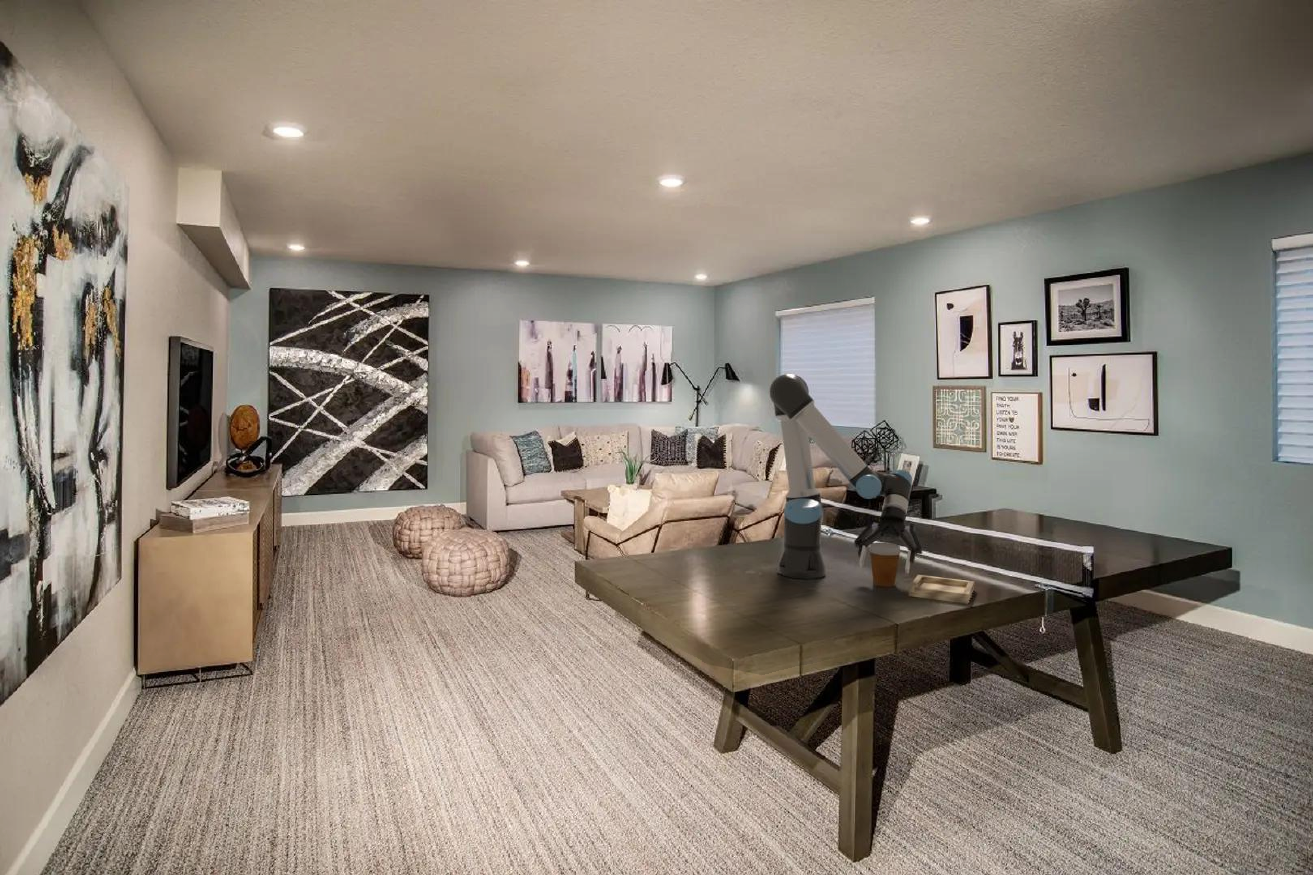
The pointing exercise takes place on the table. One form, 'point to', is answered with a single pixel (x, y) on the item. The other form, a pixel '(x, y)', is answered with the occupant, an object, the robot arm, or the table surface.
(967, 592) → the tray
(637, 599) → the table surface
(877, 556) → the disposable coffee cup
